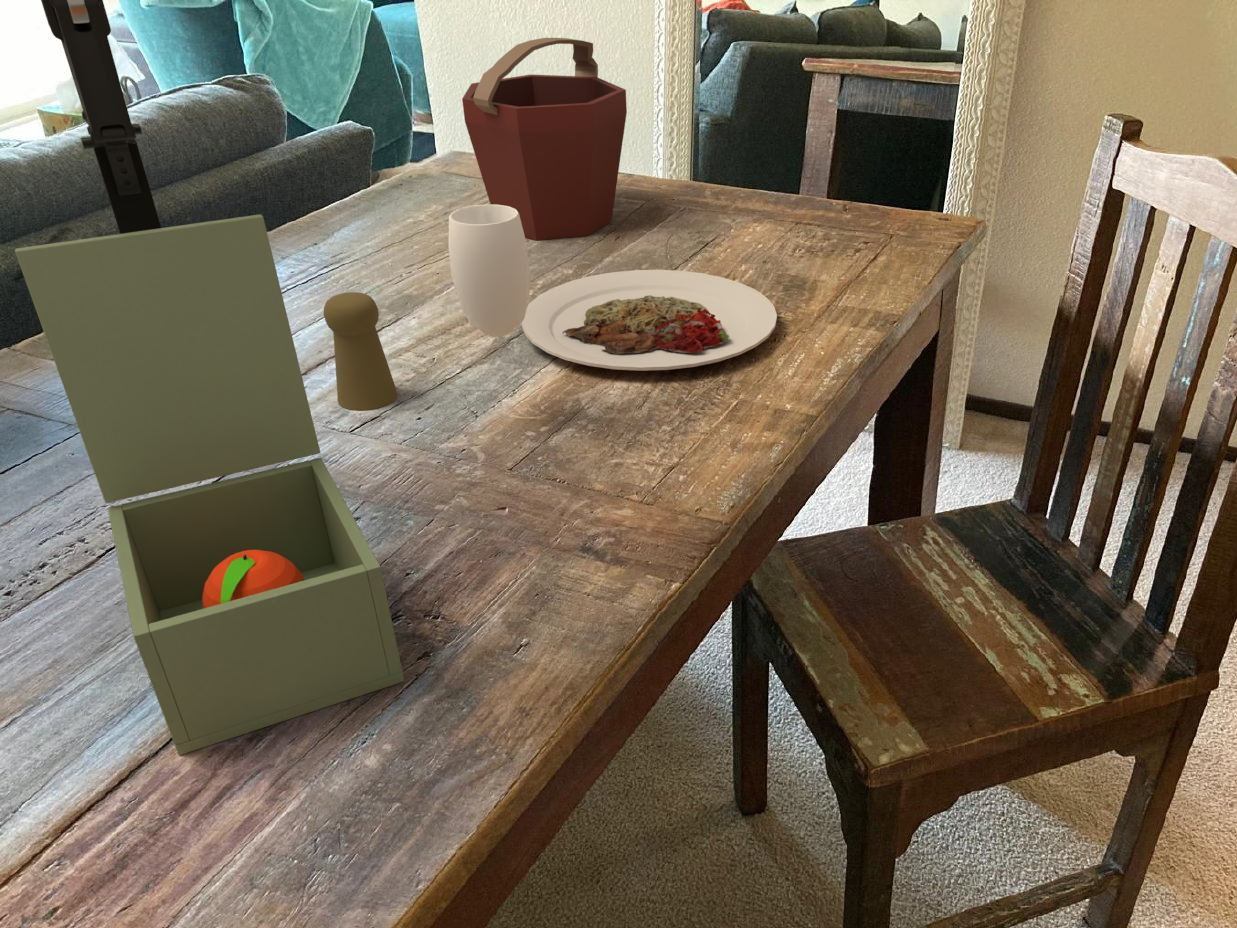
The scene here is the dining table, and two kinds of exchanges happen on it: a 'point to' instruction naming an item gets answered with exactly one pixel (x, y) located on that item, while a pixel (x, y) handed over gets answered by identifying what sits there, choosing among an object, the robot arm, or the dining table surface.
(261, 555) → the clementine
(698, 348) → the plated food
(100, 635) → the dining table surface
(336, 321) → the cork
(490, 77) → the bucket
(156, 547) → the chest
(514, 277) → the cup
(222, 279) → the lid
